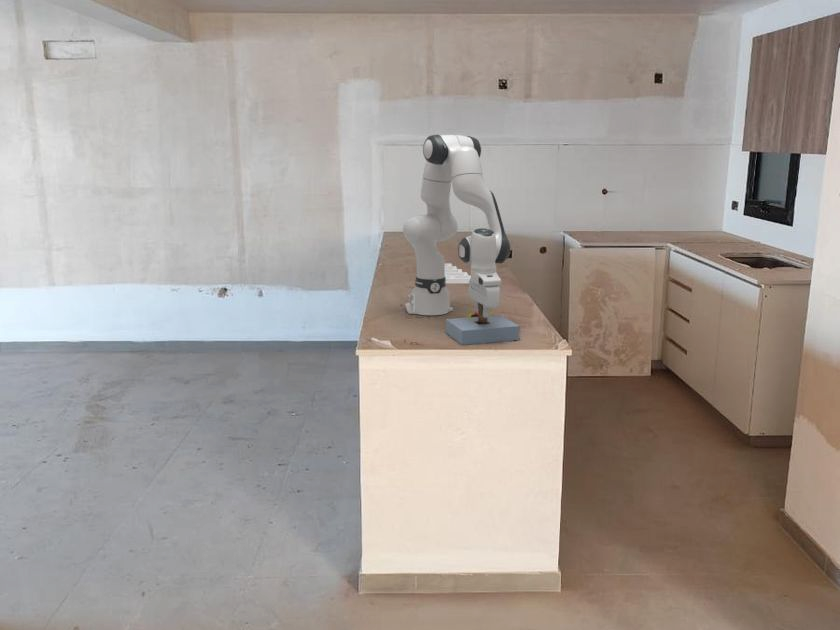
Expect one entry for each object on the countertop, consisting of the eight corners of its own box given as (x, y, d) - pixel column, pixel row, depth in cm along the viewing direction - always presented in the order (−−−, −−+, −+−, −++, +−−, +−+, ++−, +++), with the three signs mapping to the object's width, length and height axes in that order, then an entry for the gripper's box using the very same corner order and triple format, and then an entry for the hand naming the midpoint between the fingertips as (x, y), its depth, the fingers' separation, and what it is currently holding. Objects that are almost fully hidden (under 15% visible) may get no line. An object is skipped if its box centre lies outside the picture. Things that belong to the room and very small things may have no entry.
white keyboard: (434, 268, 398) (434, 263, 397) (468, 268, 398) (468, 263, 397) (436, 284, 354) (436, 278, 353) (473, 284, 354) (473, 278, 353)
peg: (476, 326, 259) (477, 301, 257) (485, 325, 260) (485, 300, 258) (480, 328, 256) (480, 303, 254) (488, 327, 257) (489, 302, 255)
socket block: (445, 332, 264) (445, 319, 263) (500, 328, 270) (500, 315, 268) (461, 345, 248) (462, 330, 247) (519, 340, 254) (519, 326, 253)
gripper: (464, 272, 263) (464, 310, 266) (485, 282, 243) (485, 322, 247) (480, 271, 264) (480, 308, 267) (503, 281, 245) (502, 321, 248)
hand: (482, 315), depth 257 cm, fingers closed on peg, 3 cm apart
